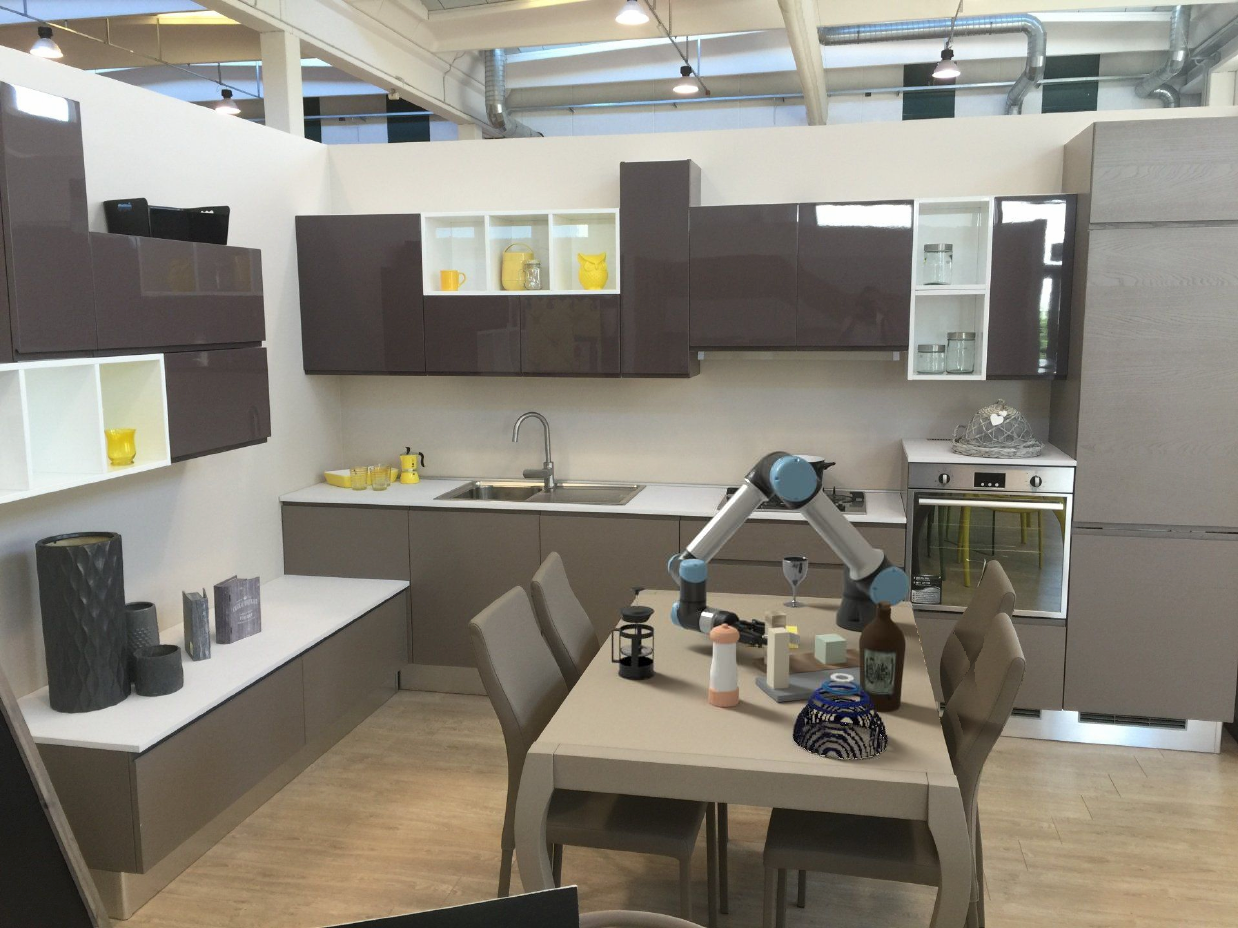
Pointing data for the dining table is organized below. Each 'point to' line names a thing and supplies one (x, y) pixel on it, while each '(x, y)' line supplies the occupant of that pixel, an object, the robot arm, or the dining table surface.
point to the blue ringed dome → (839, 719)
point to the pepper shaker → (724, 667)
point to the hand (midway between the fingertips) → (792, 642)
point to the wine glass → (795, 575)
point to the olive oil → (882, 660)
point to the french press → (635, 642)
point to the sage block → (830, 648)
